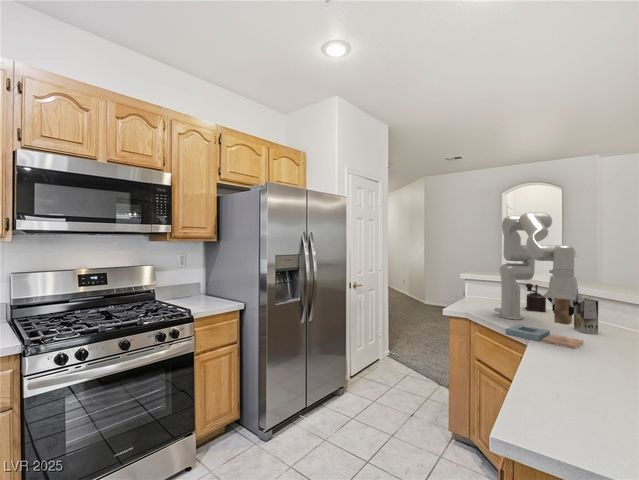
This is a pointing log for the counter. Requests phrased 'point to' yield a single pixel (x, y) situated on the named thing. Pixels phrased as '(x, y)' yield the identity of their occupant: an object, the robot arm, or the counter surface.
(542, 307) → the dark brown boxy piece
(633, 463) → the counter surface
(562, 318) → the walnut block
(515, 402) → the counter surface
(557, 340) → the terracotta tile
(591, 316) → the coffee box
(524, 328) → the pocket plate
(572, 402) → the counter surface
